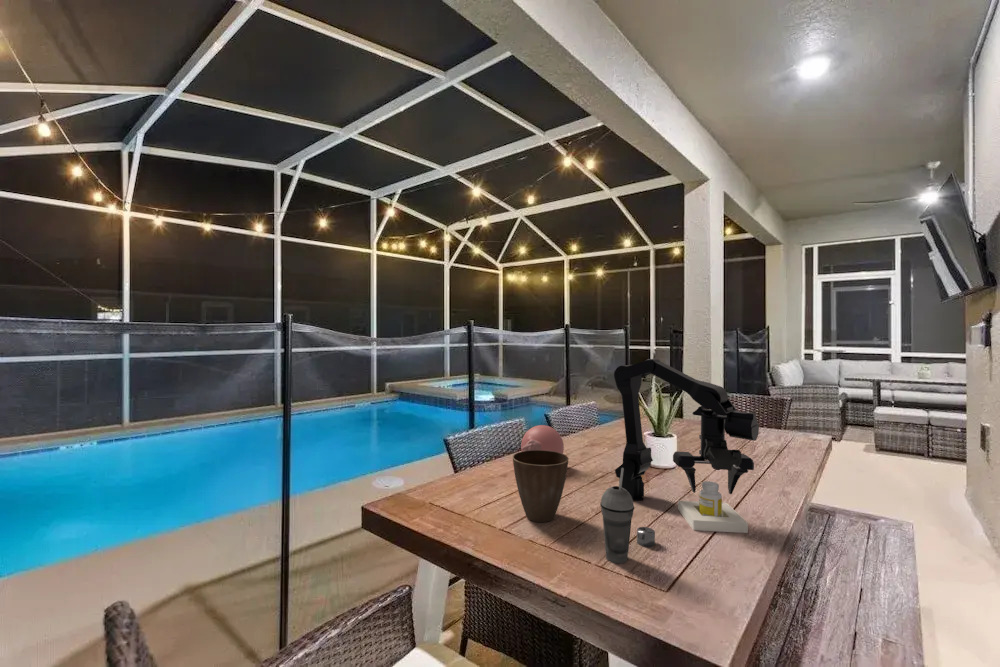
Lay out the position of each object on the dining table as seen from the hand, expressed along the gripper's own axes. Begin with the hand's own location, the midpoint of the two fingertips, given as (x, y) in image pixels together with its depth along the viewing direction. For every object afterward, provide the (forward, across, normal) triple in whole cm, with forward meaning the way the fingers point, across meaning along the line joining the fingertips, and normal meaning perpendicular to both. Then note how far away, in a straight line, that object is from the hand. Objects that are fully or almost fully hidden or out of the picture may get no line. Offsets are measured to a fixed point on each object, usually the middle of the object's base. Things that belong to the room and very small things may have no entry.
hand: (711, 492), depth 118 cm
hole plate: (+7, 0, 0) cm, 7 cm away
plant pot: (+8, -45, -3) cm, 46 cm away
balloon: (+8, -46, +38) cm, 60 cm away
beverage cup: (+8, -28, -23) cm, 37 cm away
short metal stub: (+8, -20, -15) cm, 26 cm away
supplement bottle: (+8, 0, 0) cm, 8 cm away
